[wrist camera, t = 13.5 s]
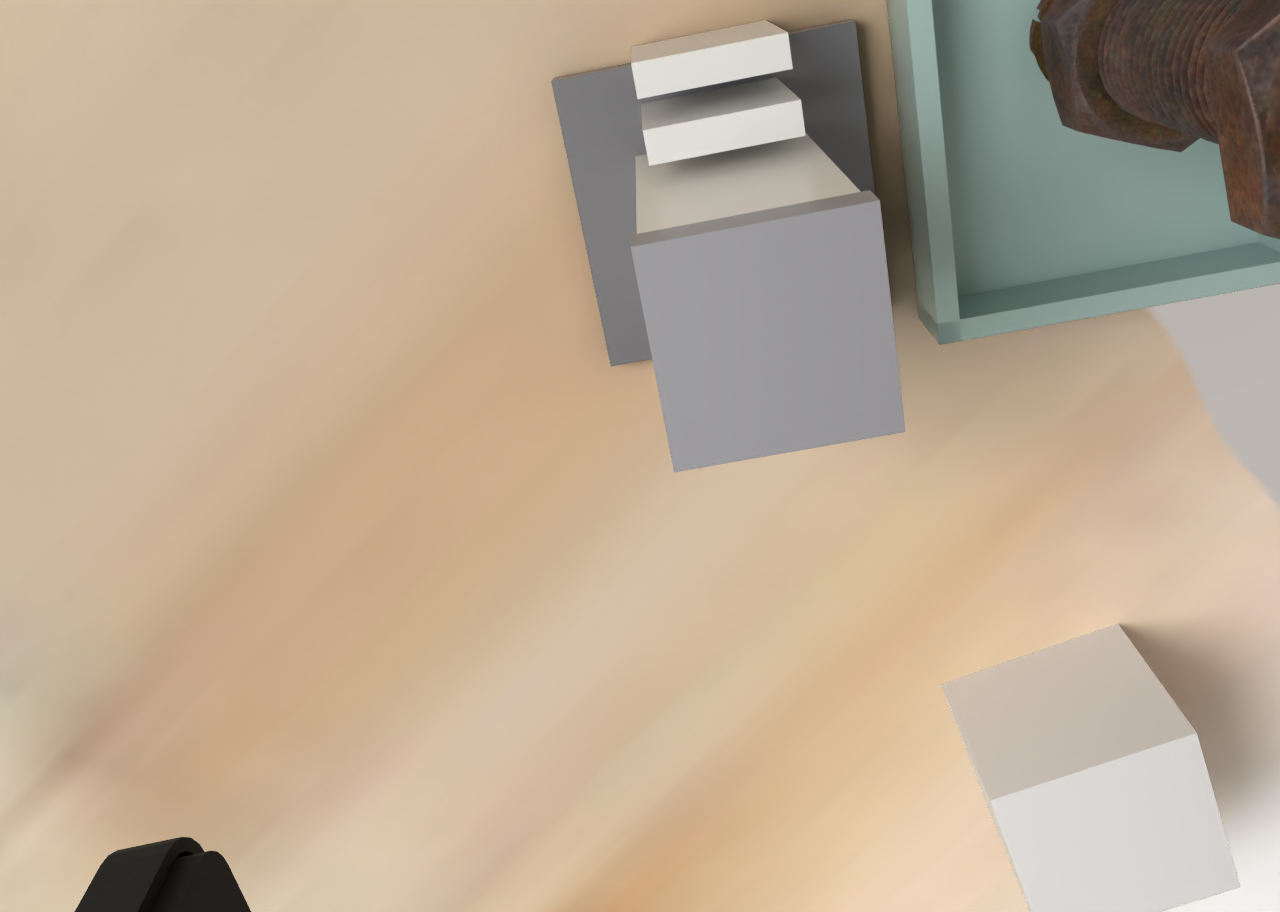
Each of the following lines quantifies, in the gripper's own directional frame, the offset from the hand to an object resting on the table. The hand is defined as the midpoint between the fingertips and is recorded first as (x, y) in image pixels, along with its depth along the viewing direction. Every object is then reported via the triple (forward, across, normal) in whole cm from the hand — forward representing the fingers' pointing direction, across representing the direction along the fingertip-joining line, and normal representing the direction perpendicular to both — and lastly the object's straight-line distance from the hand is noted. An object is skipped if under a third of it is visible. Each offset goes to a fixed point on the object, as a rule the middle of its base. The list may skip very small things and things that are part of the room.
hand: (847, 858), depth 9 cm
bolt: (+26, -11, -1) cm, 28 cm away
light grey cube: (+26, -8, +20) cm, 34 cm away
